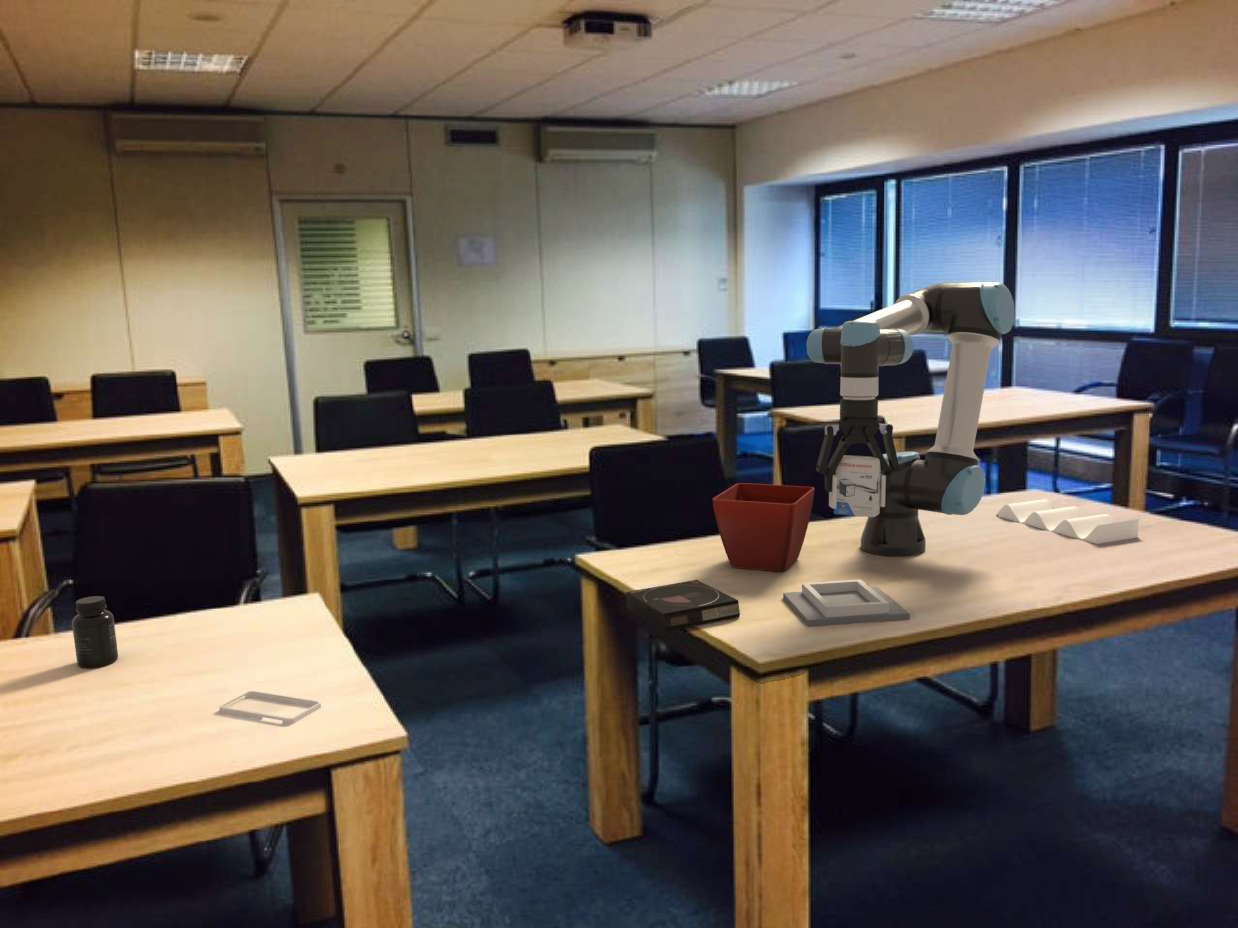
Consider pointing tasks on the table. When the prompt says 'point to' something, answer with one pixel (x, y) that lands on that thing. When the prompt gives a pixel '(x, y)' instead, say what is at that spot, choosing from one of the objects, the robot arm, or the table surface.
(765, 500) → the plant pot
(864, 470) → the ink box
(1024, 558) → the table surface
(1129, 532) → the white wavy ridged block
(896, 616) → the square ring on plate
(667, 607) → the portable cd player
